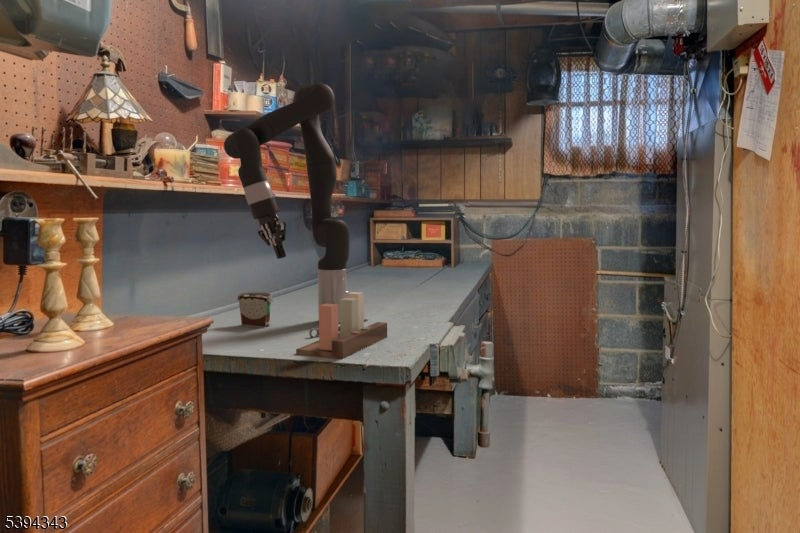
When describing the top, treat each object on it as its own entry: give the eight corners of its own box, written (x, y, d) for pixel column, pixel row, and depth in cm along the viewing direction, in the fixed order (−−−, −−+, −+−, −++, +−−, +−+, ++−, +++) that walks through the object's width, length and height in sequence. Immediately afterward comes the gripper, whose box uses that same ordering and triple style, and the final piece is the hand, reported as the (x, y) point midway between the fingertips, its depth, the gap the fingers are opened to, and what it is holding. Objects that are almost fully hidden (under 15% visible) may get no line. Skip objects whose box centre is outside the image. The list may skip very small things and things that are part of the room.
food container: (281, 324, 190) (280, 293, 189) (269, 328, 185) (268, 295, 184) (250, 321, 196) (249, 291, 195) (237, 324, 190) (237, 293, 189)
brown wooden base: (296, 353, 151) (295, 336, 151) (345, 333, 176) (345, 318, 176) (343, 358, 146) (342, 340, 146) (387, 337, 171) (387, 321, 170)
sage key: (340, 340, 159) (339, 299, 158) (346, 337, 163) (345, 297, 162) (352, 341, 158) (351, 300, 157) (357, 338, 161) (357, 298, 160)
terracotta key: (319, 349, 149) (318, 305, 148) (326, 346, 152) (325, 303, 151) (331, 350, 148) (331, 306, 147) (338, 347, 151) (338, 304, 150)
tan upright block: (347, 331, 171) (347, 293, 170) (352, 329, 174) (352, 292, 173) (358, 332, 169) (358, 294, 168) (363, 330, 173) (363, 292, 172)
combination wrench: (310, 327, 170) (371, 318, 181) (308, 326, 171) (369, 318, 182) (310, 340, 170) (371, 331, 181) (308, 339, 171) (369, 330, 182)
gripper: (283, 191, 166) (304, 250, 168) (261, 201, 176) (281, 256, 178) (260, 198, 161) (282, 258, 163) (239, 207, 171) (260, 264, 173)
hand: (282, 257), depth 171 cm, fingers closed
